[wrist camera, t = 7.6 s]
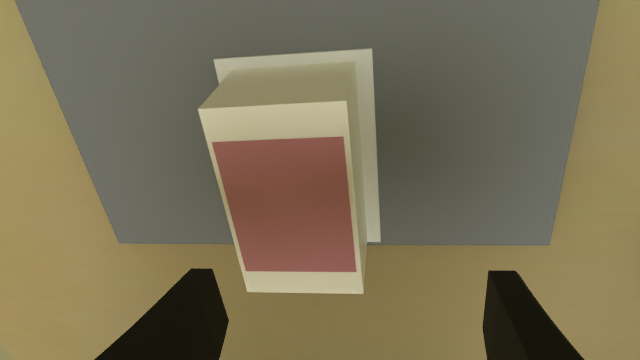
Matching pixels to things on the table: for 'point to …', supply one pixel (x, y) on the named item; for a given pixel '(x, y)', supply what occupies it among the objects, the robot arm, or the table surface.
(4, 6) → the table surface
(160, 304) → the robot arm
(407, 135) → the mat
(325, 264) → the card deck
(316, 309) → the table surface
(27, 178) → the table surface
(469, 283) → the table surface
